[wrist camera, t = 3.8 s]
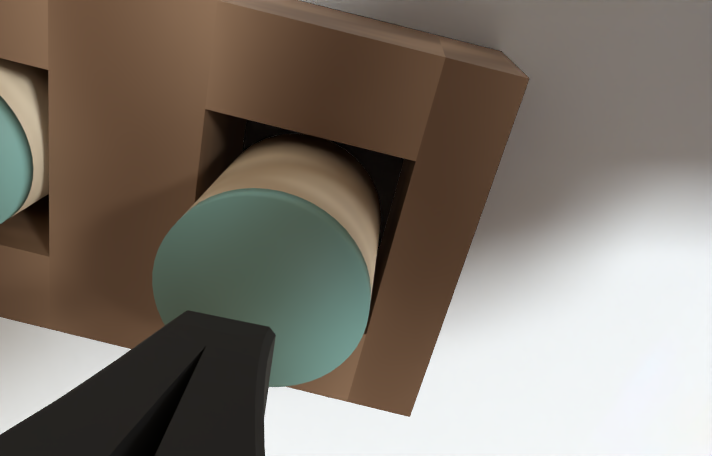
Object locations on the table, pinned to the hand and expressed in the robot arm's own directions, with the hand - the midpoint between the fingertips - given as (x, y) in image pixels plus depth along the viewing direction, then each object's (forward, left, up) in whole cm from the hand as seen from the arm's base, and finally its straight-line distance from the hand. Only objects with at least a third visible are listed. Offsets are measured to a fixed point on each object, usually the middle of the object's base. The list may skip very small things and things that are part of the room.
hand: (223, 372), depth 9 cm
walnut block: (+4, 0, -9) cm, 10 cm away
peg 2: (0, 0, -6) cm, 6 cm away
